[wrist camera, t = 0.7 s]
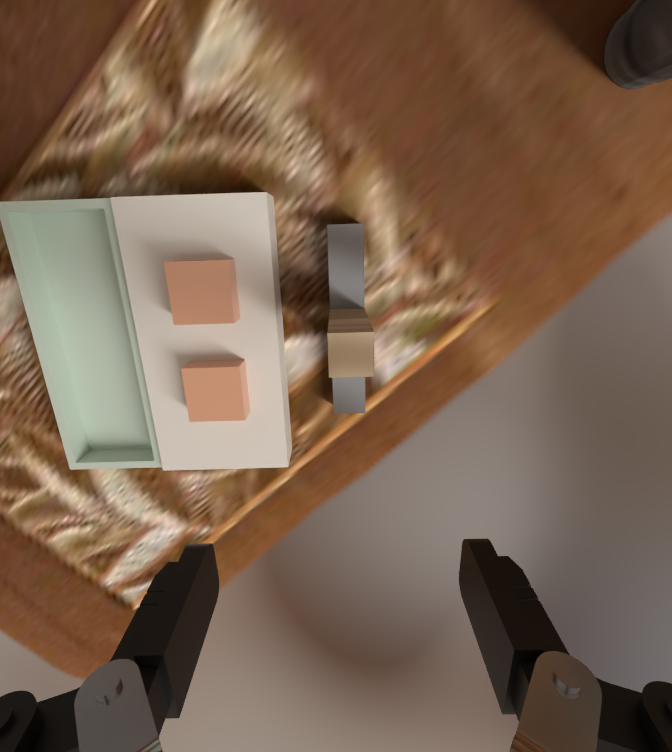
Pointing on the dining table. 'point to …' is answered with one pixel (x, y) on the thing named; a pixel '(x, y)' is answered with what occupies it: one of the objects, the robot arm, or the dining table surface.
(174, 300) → the tile
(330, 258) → the scraper
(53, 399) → the tray
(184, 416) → the stone plate
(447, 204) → the dining table surface
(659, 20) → the beverage cup
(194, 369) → the tile
